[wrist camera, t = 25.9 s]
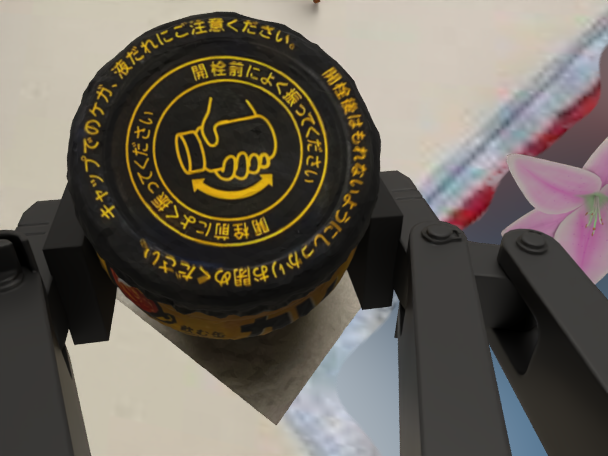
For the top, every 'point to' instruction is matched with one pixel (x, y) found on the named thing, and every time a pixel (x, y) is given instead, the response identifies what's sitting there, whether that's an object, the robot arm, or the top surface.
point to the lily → (568, 206)
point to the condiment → (229, 195)
